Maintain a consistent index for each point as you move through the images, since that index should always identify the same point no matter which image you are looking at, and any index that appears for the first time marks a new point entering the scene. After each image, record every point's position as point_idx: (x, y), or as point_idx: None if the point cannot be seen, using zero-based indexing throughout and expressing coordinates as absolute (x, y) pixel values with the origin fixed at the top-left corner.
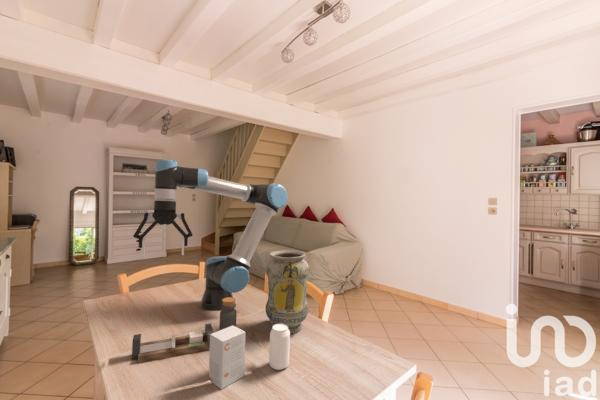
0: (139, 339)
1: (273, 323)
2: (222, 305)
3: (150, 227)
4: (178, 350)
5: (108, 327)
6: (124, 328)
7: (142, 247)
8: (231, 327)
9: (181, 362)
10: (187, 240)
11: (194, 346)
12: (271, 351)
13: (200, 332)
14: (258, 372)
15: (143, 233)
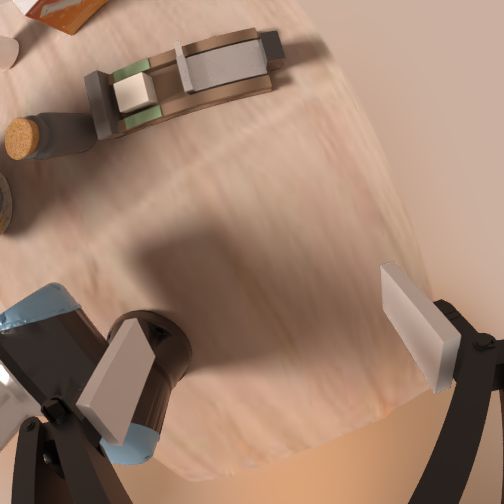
0: (260, 33)
1: (2, 197)
2: (39, 126)
3: (451, 472)
4: (169, 51)
5: (390, 238)
6: (353, 226)
7: (423, 295)
8: (28, 4)
9: (164, 43)
10: (73, 401)
11: (134, 63)
12: (1, 38)
13: (121, 101)
14: (37, 31)
15: (486, 383)
